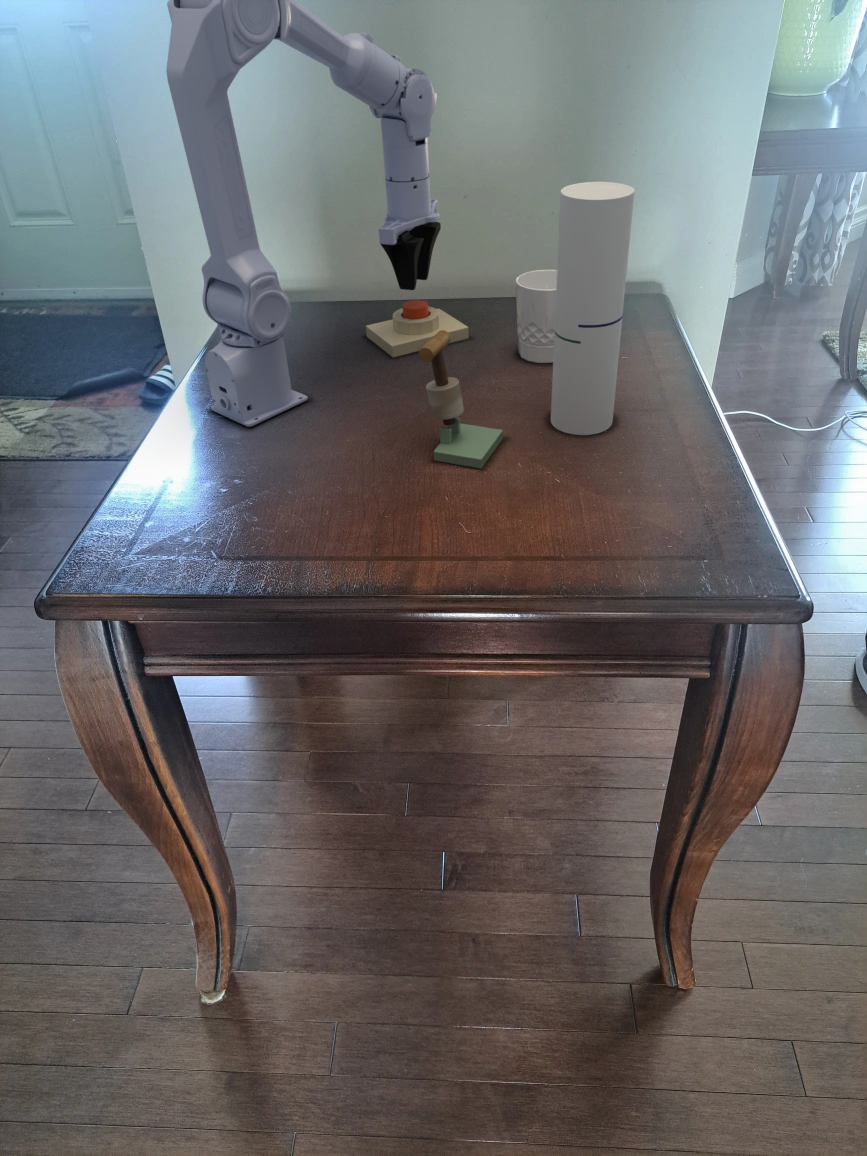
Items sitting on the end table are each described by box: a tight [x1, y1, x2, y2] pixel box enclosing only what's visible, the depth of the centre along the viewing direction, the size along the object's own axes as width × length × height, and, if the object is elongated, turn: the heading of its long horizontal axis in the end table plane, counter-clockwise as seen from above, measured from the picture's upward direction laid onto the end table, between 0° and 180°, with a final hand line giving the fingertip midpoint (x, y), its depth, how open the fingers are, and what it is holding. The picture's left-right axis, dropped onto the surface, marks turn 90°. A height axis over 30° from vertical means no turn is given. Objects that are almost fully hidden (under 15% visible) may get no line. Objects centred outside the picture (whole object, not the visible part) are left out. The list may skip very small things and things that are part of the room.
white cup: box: [515, 269, 557, 364], centre depth 109 cm, size 8×8×10 cm
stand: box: [433, 416, 504, 470], centre depth 92 cm, size 6×7×3 cm
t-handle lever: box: [418, 330, 465, 426], centre depth 89 cm, size 10×5×4 cm
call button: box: [401, 299, 429, 320], centre depth 117 cm, size 4×4×2 cm
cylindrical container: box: [550, 181, 635, 436], centre depth 89 cm, size 7×7×25 cm
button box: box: [365, 306, 470, 358], centre depth 118 cm, size 12×9×4 cm
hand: (413, 283), depth 114 cm, fingers open, 4 cm apart
